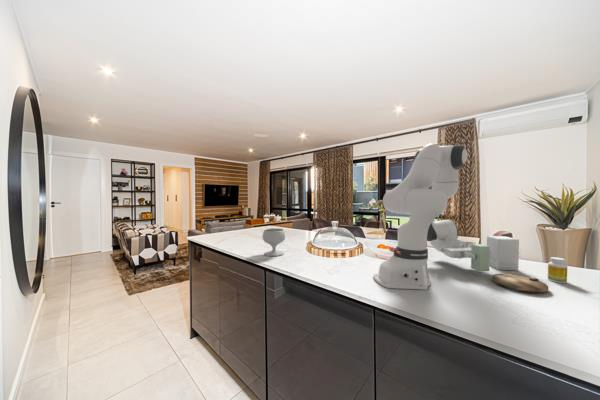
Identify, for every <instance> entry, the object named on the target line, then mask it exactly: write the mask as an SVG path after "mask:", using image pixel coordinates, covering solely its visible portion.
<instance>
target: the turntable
mask: <svg viewBox="0 0 600 400" xmlns="http://www.w3.org/2000/svg"><path fill="white" fill-rule="evenodd" d="M491 280H492V281H493V282H494V283H496V284H498V285H499V284H501V285H504V286H507V287H510V288H514V289H518V290H523V291H530V292H540V293H545V292H547V291H549V285H548V284H546V283H545V282H542V281H540V280H539V278H537V277H527V276H524V275H517V274H511V273H494V274H492V275H491ZM501 285H500V286H501Z"/></svg>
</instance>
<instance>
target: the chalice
mask: <svg viewBox="0 0 600 400" xmlns="http://www.w3.org/2000/svg"><path fill="white" fill-rule="evenodd" d="M261 238H262V241H263V242H265V243H266V244H268V245H270V246H271V248H272V250H269V251H265V252H264V255H265V256H267V257H278V256H282V255H284V254H285V253H284V251H282V250H276V247H277V246H278V245H279V244H281V243H283V242H284V241H285V239H286V233H285V231H284V229H283V228H276V227H275V228H267V229H264V230H263V232H262V237H261Z"/></svg>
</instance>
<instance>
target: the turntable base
mask: <svg viewBox="0 0 600 400" xmlns="http://www.w3.org/2000/svg"><path fill="white" fill-rule="evenodd" d="M498 285H500V286H502V287H503V288H507V289H510V290H513V291H515V292H516V291H517V292H522V293H527V294H528V293H529V294H540V293H541V292H530V291H523V290H518V289H514V288H510V287H507V286H504V285H501V284H498Z"/></svg>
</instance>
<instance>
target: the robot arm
mask: <svg viewBox="0 0 600 400" xmlns="http://www.w3.org/2000/svg"><path fill="white" fill-rule="evenodd" d="M467 160H468V151H467V147H465V146H464V145H461V144H460V145H459V144H455V145H439V144H434V143H429V144H426V145H424V146H423V147H422V148H420V149H418V150H417V151H416V152H415V154H414V160H413V163H412V165H411V168H410V169H409V172H408V174H407V175H406V176H405V177H404V179H403V180H402V181H401V182H400V183H398V184H397V186H395V187H393V188H392V189H390V190H388V191H386V192H385V193H384V195H383V198H382V205H383V208H384V209H385V210H386V211H387V212H390V213H393V214H396V215H409V219H408V221H407V222H406V223H403V224H401V225H400V226H399V227H398V228H397V245H396V247H394V246H389V248H388V250H389V252H391V253H393V254H391V256H390V257H388V258H387V259H385V260H384V261H383V262H381V263H380V266H379V269H378V272H377V273H373V279H374V281H375V282H376V283H378V284H379V285H380V286H383V287H384V288H388V289H397V290H398V289H399V290H400V289H401V290H407V289H408V290H423V291H425V290H426V291H427V290H428V287H429V286H430V285H431V284H432V282H431V280H430V275H429V269H428V260H429V259H428V258H429V251H428V250H429V249H428V245H427V244H428V243H427V242H430V245H431V247H432V248H433V249H435V250H436V251H437V252H440V253H442V254H444V256H447V257H449V258H452V259H460V260H461V259H464V258H465V259H467V258H469V259H471V258H473V259H477V255H476V254H471V244H477V242H472V241H463V240H460V239H458V237H459V236H458V235H459V228H458V226H457V224H456V223H455V222H454V221H453V220H451V219H444V220H443V219H441V220H437V221H436V220H435V219H436V218H437V217H439V216H440V215H441V214H443V213H444V212H445V211H446V209H447V207H448V200H449V199H450V198H452V197H454V196H455V195H456V193H458V190H459V180H460V178H459V169H460V168H463V166H465V164H467ZM490 257H492V250H491V249H490Z"/></svg>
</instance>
